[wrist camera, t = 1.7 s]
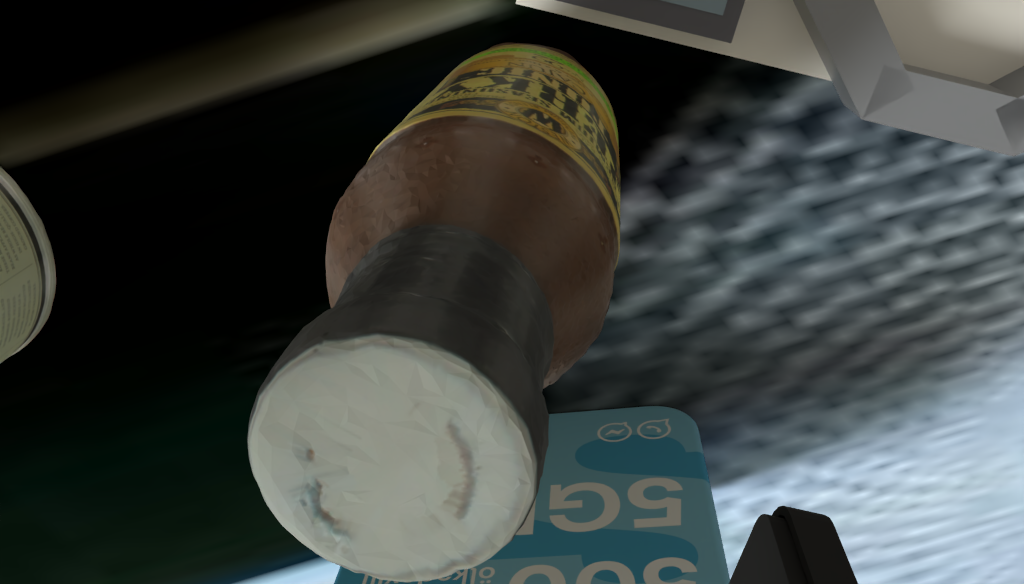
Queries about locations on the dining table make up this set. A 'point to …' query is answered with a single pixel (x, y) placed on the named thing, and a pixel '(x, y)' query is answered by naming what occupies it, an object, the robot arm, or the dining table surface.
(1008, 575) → the dining table surface
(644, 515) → the data package
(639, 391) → the dining table surface
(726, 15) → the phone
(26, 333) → the coffee can
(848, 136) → the dining table surface
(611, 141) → the sauce bottle
